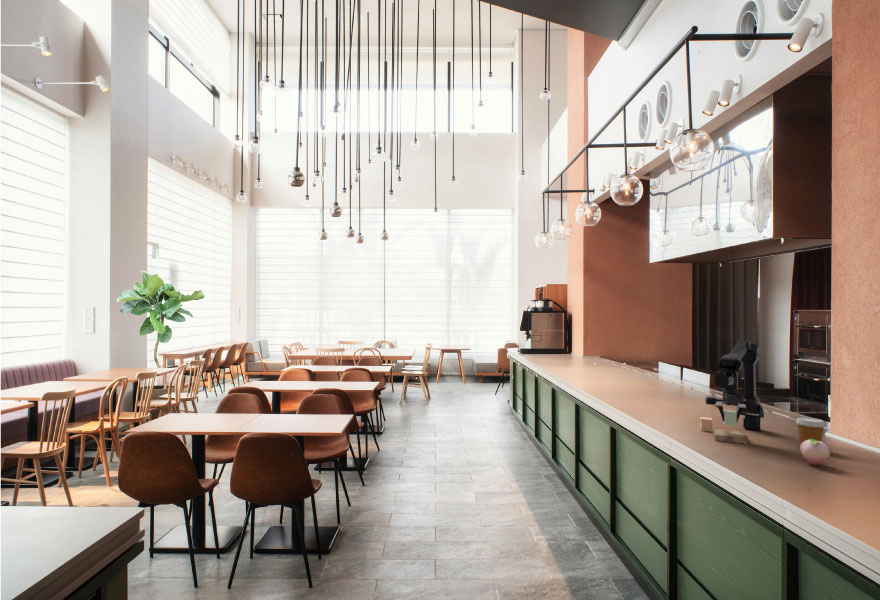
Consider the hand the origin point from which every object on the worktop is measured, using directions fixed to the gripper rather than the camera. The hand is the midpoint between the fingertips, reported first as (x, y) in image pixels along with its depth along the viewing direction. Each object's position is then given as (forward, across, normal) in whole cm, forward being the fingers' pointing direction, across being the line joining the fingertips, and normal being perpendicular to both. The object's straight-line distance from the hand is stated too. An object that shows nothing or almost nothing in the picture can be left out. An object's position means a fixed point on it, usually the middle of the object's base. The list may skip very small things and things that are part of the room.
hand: (729, 422), depth 217 cm
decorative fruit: (+8, +24, -28) cm, 38 cm away
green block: (+1, 0, 0) cm, 1 cm away
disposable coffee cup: (+8, +28, -3) cm, 29 cm away
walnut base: (+7, 0, 0) cm, 7 cm away
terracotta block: (+8, -8, +14) cm, 18 cm away
